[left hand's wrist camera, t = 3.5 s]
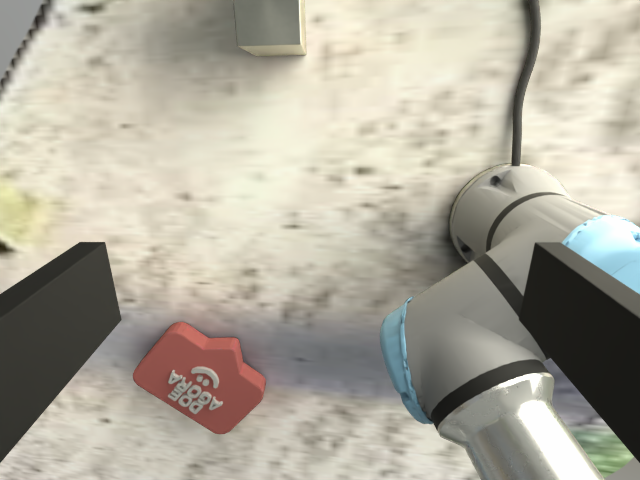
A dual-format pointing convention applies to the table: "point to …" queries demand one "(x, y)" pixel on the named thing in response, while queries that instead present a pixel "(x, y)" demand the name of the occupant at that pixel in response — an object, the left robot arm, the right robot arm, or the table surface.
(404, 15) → the table surface
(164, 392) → the plaque
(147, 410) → the table surface
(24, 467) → the table surface
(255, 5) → the brick
